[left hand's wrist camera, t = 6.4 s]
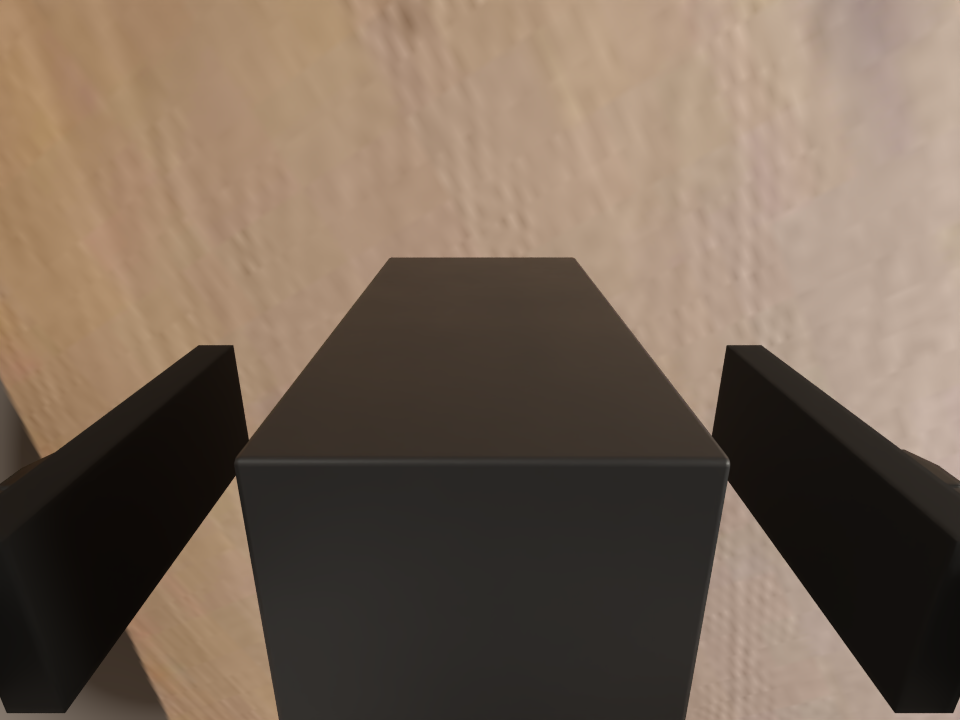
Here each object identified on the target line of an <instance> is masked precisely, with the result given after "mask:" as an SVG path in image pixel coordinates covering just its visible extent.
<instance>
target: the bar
mask: <svg viewBox="0 0 960 720" xmlns="http://www.w3.org/2000/svg"><path fill="white" fill-rule="evenodd" d="M234 467H235V473H236V479H237V484H238V490H239V496H240V501H241V507H242V513H243V518H244V524H245V530H246V535H247V541H248V547H249V552H250V558H251V564H252V569H253V575H254V581H255V586H256V592H257V598H258V603H259V609H260V615H261V620H262V626H263V632H264V637H265V643H266V649H267V654H268V660H269V666H270V671H271V677H272V683H273V688H274V694H275V700H276V705H277V711H278V717H279V720H685V718H686V712H687V707H688V701H689V695H690V690H691V684H692V679H693V673H694V667H695V662H696V656H697V650H698V645H699V639H700V633H701V628H702V622H703V617H704V611H705V605H706V600H707V594H708V588H709V583H710V577H711V571H712V566H713V560H714V555H715V549H716V543H717V538H718V532H719V526H720V521H721V515H722V509H723V504H724V498H725V493H726V487H727V481H728V476H729V470H730V461H729V458H728V457H727V455H726V454H725V453H724V451H723V450H722V449H721V448H720V446H719V445H718V444H717V442H716V441H715V440H714V438H713V437H712V436H711V435H710V433H709V432H708V431H707V429H706V428H705V427H704V425H703V424H702V423H701V422H700V420H699V419H698V418H697V416H696V415H695V414H694V412H693V411H692V410H691V409H690V407H689V406H688V405H687V403H686V402H685V401H684V400H683V398H682V397H681V396H680V394H679V393H678V392H677V390H676V389H675V388H674V387H673V385H672V384H671V383H670V381H669V380H668V379H667V377H666V376H665V375H664V374H663V372H662V371H661V370H660V368H659V367H658V366H657V364H656V363H655V362H654V361H653V359H652V358H651V357H650V355H649V354H648V353H647V351H646V350H645V349H644V348H643V346H642V345H641V344H640V342H639V341H638V340H637V339H636V337H635V336H634V335H633V333H632V332H631V331H630V329H629V328H628V327H627V326H626V324H625V323H624V322H623V320H622V319H621V318H620V316H619V315H618V314H617V313H616V311H615V310H614V309H613V307H612V306H611V305H610V303H609V302H608V301H607V300H606V298H605V297H604V296H603V294H602V293H601V292H600V290H599V289H598V288H597V287H596V285H595V284H594V283H593V281H592V280H591V279H590V278H589V276H588V275H587V274H586V272H585V271H584V270H583V268H582V267H581V266H580V265H579V263H578V262H577V261H576V259H575V258H390V259H389V260H388V261H387V262H386V263H385V265H384V266H383V267H382V269H381V270H380V271H379V273H378V274H377V275H376V276H375V278H374V279H373V280H372V282H371V283H370V284H369V286H368V287H367V288H366V289H365V291H364V292H363V293H362V295H361V296H360V297H359V298H358V300H357V301H356V302H355V304H354V305H353V306H352V308H351V309H350V310H349V311H348V313H347V314H346V315H345V317H344V318H343V319H342V321H341V322H340V323H339V324H338V326H337V327H336V328H335V330H334V331H333V332H332V334H331V335H330V336H329V337H328V339H327V340H326V341H325V343H324V344H323V345H322V346H321V348H320V349H319V350H318V352H317V353H316V354H315V356H314V357H313V358H312V359H311V361H310V362H309V363H308V365H307V366H306V367H305V369H304V370H303V371H302V372H301V374H300V375H299V376H298V378H297V379H296V380H295V381H294V383H293V384H292V385H291V387H290V388H289V389H288V391H287V392H286V393H285V394H284V396H283V397H282V398H281V400H280V401H279V402H278V404H277V405H276V406H275V407H274V409H273V410H272V411H271V413H270V414H269V415H268V416H267V418H266V419H265V420H264V422H263V423H262V424H261V426H260V427H259V428H258V429H257V431H256V432H255V433H254V435H253V436H252V437H251V439H250V440H249V441H248V442H247V444H246V445H245V446H244V448H243V449H242V450H241V451H240V453H239V454H238V455H237V457H236V459H235V462H234Z"/></svg>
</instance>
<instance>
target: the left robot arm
mask: <svg viewBox="0 0 960 720" xmlns="http://www.w3.org/2000/svg"><path fill="white" fill-rule="evenodd" d="M712 437H713V438H714V440H715V441H716V442H717V444H718V445H719V446H720V448H721V449H722V450H723V451H724V453H725V454H726V455H727V457H728V458H729V461H730V470H729V476H728V481H729V483H730V484H731V486H732V487H733V488H734V490H735V491H736V493H737V494H738V495H739V497H740V498H741V499H742V501H743V502H744V504H745V505H746V506H747V508H748V509H749V511H750V512H751V513H752V515H753V516H754V518H755V519H756V520H757V522H758V523H759V525H760V526H761V527H762V529H763V530H764V531H765V533H766V534H767V536H768V537H769V538H770V540H771V541H772V543H773V544H774V545H775V547H776V548H777V550H778V551H779V552H780V554H781V555H782V557H783V558H784V559H785V561H786V562H787V563H788V565H789V566H790V568H791V569H792V570H793V572H794V573H795V575H796V576H797V577H798V579H799V580H800V582H801V583H802V584H803V586H804V587H805V589H806V590H807V591H808V593H809V594H810V595H811V597H812V598H813V600H814V601H815V602H816V604H817V605H818V607H819V608H820V609H821V611H822V612H823V614H824V615H825V616H826V618H827V619H828V621H829V622H830V623H831V625H832V626H833V627H834V629H835V630H836V632H837V633H838V634H839V636H840V637H841V639H842V640H843V641H844V643H845V644H846V646H847V647H848V648H849V650H850V651H851V653H852V654H853V655H854V657H855V658H856V659H857V661H858V662H859V664H860V665H861V666H862V668H863V669H864V671H865V672H866V673H867V675H868V676H869V678H870V679H871V680H872V682H873V683H874V685H875V686H876V687H877V689H878V690H879V692H880V693H881V694H882V696H883V697H884V698H885V700H886V701H887V703H888V704H889V705H890V707H891V708H892V710H893V711H894V712H895V713H953V712H954V710H955V707H956V705H957V703H958V700H959V698H960V481H959V480H958V479H956V478H955V477H954V476H952V475H951V474H949V473H948V472H947V471H945V470H944V469H942V468H941V467H940V466H938V465H936V464H934V463H932V462H930V461H928V460H925V459H923V458H921V457H919V456H917V455H915V454H913V453H910V452H908V451H906V450H901V449H900V448H898V447H897V446H896V445H894V444H893V443H892V442H890V441H889V440H888V439H886V438H885V437H884V436H882V435H881V434H880V433H878V432H877V431H876V430H874V429H873V428H872V427H870V426H869V425H867V424H866V423H865V422H863V421H862V420H861V419H859V418H858V417H857V416H855V415H854V414H853V413H851V412H850V411H849V410H847V409H846V408H845V407H843V406H842V405H841V404H839V403H838V402H837V401H835V400H834V399H833V398H831V397H830V396H829V395H827V394H826V393H825V392H823V391H822V390H821V389H819V388H818V387H817V386H815V385H814V384H813V383H811V382H810V381H808V380H807V379H806V378H804V377H803V376H802V375H800V374H799V373H798V372H796V371H795V370H794V369H792V368H791V367H790V366H788V365H787V364H786V363H784V362H783V361H782V360H780V359H779V358H778V357H776V356H775V355H774V354H772V353H771V352H770V351H768V350H767V349H766V348H764V347H763V346H762V345H727V347H726V353H725V359H724V365H723V371H722V377H721V383H720V389H719V396H718V402H717V408H716V414H715V420H714V426H713V432H712ZM248 441H249V438H248V432H247V426H246V420H245V414H244V408H243V402H242V395H241V389H240V383H239V377H238V371H237V365H236V359H235V353H234V347H233V345H198V346H197V347H196V348H194V349H193V350H192V351H190V352H189V353H188V354H186V355H185V356H184V357H182V358H181V359H180V360H178V361H177V362H176V363H174V364H173V365H172V366H170V367H169V368H168V369H166V370H165V371H164V372H162V373H161V374H160V375H158V376H157V377H156V378H154V379H153V380H152V381H150V382H149V383H148V384H146V385H145V386H143V387H142V388H141V389H139V390H138V391H137V392H135V393H134V394H133V395H131V396H130V397H129V398H127V399H126V400H125V401H123V402H122V403H121V404H119V405H118V406H117V407H115V408H114V409H113V410H111V411H110V412H109V413H107V414H106V415H105V416H103V417H102V418H101V419H99V420H98V421H97V422H95V423H94V424H93V425H91V426H90V427H88V428H87V429H86V430H84V431H83V432H82V433H80V434H79V435H78V436H76V437H75V438H74V439H72V440H71V441H70V442H68V443H67V444H66V445H64V446H63V447H62V448H60V449H59V450H58V451H56V452H55V453H53V454H50V455H48V456H46V457H44V458H42V459H40V460H38V461H36V462H33V463H31V464H29V465H27V466H25V467H23V468H21V469H20V470H19V471H17V472H16V473H14V474H13V475H12V476H10V477H9V478H8V479H6V480H5V481H3V482H2V483H1V484H0V698H1V700H2V703H3V705H4V707H5V710H6V712H7V713H65V712H66V711H67V710H68V708H69V707H70V705H71V704H72V703H73V701H74V700H75V698H76V697H77V696H78V694H79V693H80V691H81V690H82V689H83V687H84V686H85V685H86V683H87V682H88V680H89V679H90V678H91V676H92V675H93V673H94V672H95V671H96V669H97V668H98V666H99V665H100V664H101V662H102V661H103V660H104V658H105V657H106V655H107V654H108V653H109V651H110V650H111V648H112V647H113V646H114V644H115V643H116V641H117V640H118V639H119V637H120V636H121V634H122V633H123V632H124V630H125V629H126V628H127V626H128V625H129V623H130V622H131V621H132V619H133V618H134V616H135V615H136V614H137V612H138V611H139V609H140V608H141V607H142V605H143V604H144V602H145V601H146V600H147V598H148V597H149V595H150V594H151V593H152V591H153V590H154V589H155V587H156V586H157V584H158V583H159V582H160V580H161V579H162V577H163V576H164V575H165V573H166V572H167V570H168V569H169V568H170V566H171V565H172V563H173V562H174V561H175V559H176V558H177V557H178V555H179V554H180V552H181V551H182V550H183V548H184V547H185V545H186V544H187V543H188V541H189V540H190V538H191V537H192V536H193V534H194V533H195V531H196V530H197V529H198V527H199V526H200V525H201V523H202V522H203V520H204V519H205V518H206V516H207V515H208V513H209V512H210V511H211V509H212V508H213V506H214V505H215V504H216V502H217V501H218V499H219V498H220V497H221V495H222V494H223V493H224V491H225V490H226V488H227V487H228V486H229V484H230V483H231V481H232V480H233V479H234V477H235V476H236V473H235V467H234V462H235V459H236V457H237V455H238V454H239V453H240V451H241V450H242V449H243V448H244V446H245V445H246V444H247V442H248Z"/></svg>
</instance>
